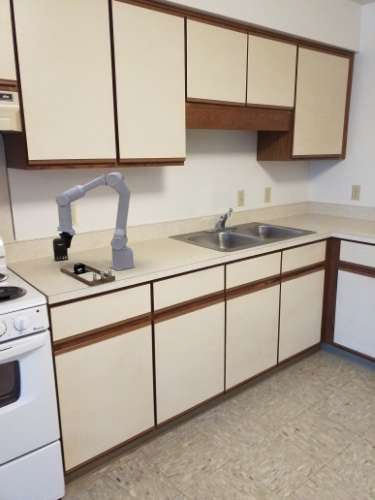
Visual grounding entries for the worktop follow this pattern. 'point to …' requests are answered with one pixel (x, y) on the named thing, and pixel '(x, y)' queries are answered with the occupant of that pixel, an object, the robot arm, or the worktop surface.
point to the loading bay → (95, 280)
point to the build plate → (80, 266)
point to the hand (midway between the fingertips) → (67, 248)
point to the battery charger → (59, 250)
